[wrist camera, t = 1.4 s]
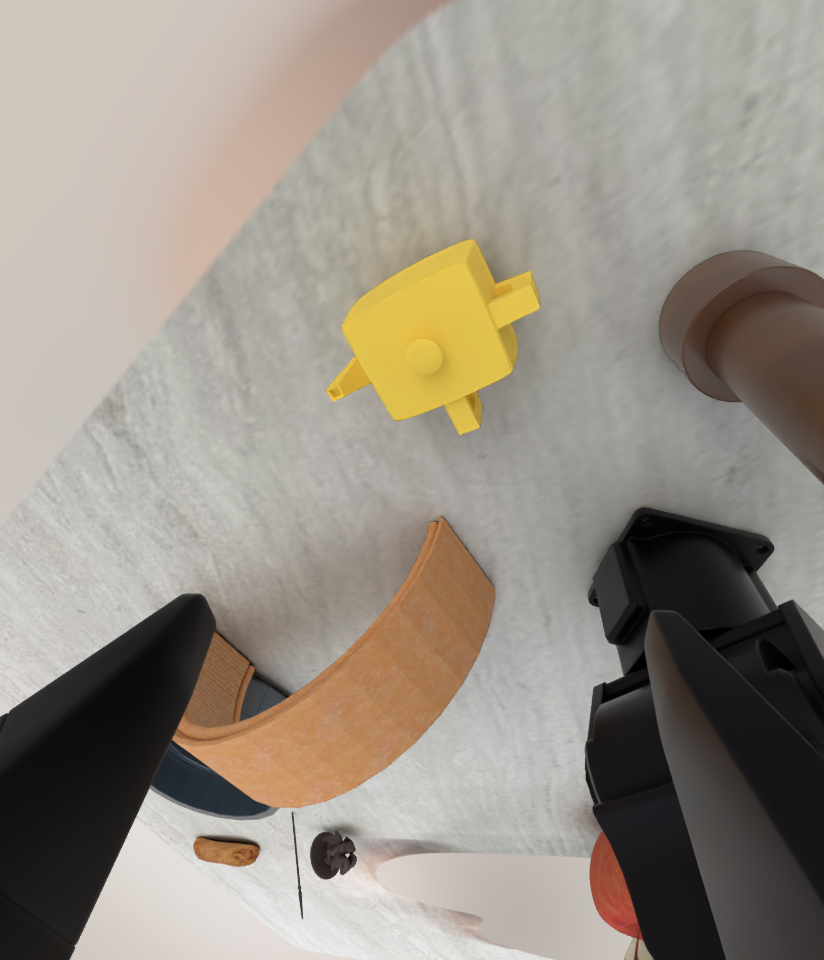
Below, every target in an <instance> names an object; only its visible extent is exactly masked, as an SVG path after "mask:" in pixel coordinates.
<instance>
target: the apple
mask: <svg viewBox="0 0 824 960" xmlns="http://www.w3.org/2000/svg"><path fill="white" fill-rule="evenodd" d="M590 885H591V892H592V896H593V900H594V904H595V906H596V909H597V911H598V913H599V915H600V916H601V917H602V918H603V920H604V921H605V922H607V923H608V924H609V925H610V926H611V927H613V928H614V929H616V930H617V931H619V932H621V933H623V934H626V935H629V936H631V937H634V938H636V939H637V940H636V948H635V955H634V960H639V959H638V944H639V940H642V941H643V938H642V934H641V931H640V928H639V924H638V921H637V918H636V914H635V911H634V907H633V904H632V901H631V897H630V894H629V891H628V888H627V885H626V882H625V879H624V876H623V873H622V870H621V868H620V866H619V863H618V861H617V859H616V856H615V854H614V852H613V849H612V847H611V845H610V842H609V841H608V839H607V837H606V835H605V833H604V832H603V831H602V832H601V834H600V835H599V837H598V839H597V841H596V843H595V846H594V849H593V852H592V857H591V863H590Z"/></svg>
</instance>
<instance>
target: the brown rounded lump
mask: <svg viewBox="0 0 824 960" xmlns="http://www.w3.org/2000/svg"><path fill="white" fill-rule="evenodd" d="M193 847H194V852H195V854H196V856H197V857H198V858H199V859H201V860H203V861H207V862H213V863H222V864H226V865H230V866H237V867H239V866H246V865H250V864H252V863H254V862H255V861H256V858H257V857H258V855H259V850H260V849H259V848H258V847H257V846H255V845H250V844H240V843H225V842H218V841H212V840H208V839H206V838H197V839H196V840H195V842H194V845H193Z"/></svg>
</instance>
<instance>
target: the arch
mask: <svg viewBox="0 0 824 960" xmlns="http://www.w3.org/2000/svg"><path fill="white" fill-rule="evenodd" d="M494 601H495V588H494V586H493V585H492V583H491V582H490V581H489V579H488V578H487V577H486V575H485V574H484V573H483V571H482V570H481V568H480V567H479V566H478V564H477V563H476V562H475V560H474V559H473V557H472V556H471V555H470V553H469V552H468V551H467V549H466V548H465V546H464V545H463V544H462V542H461V541H460V540H459V538H458V537H457V535H456V534H455V533H454V531H453V530H452V529H451V527H450V526H449V524H448V523H447V522H446V520H445V519H444V518H443V517H440V518H439V522H438V523H437V522H431V523H430V524H429V527H428V532H427V536H426V539H425V541H424V544H423V546H422V549H421V552H420V554H419V556H418V558H417V560H416V562H415V564H414V566H413V567H412V569H411V571H410V573H409V575H408V577H407V578H406V580H405V582H404V583H403V584H402V586H401V587H400V589H399V590H398V592H397V593H396V595H395V596H394V597H393V599H392V600H391V602H390V603H389V605H388V606H387V607H386V608H385V610H384V611H383V612H382V613H381V614H380V616H379V617H378V618H377V619H376V620H375V621H374V623H373V624H372V625H371V626H370V627H369V628H368V630H367V631H366V632H365V633H364V634H363V635H362V636H361V637H360V638H359V639H358V640H357V641H356V642H355V643H354V644H353V645H352V646H351V647H350V648H349V649H348V650H347V651H346V652H345V653H344V654H343V655H342V656H341V657H340V658H339V659H338V660H337V661H336V662H334V663H333V664H332V665H331V666H330V667H328V668H327V669H326V670H325V671H323V672H322V673H321V674H320V675H319V676H317V677H316V678H315V679H314V680H313V681H311V682H310V683H309V684H307V685H306V686H304V687H303V688H302V689H300V690H299V691H297V692H296V693H294V694H293V695H291V696H290V697H288V698H287V699H285V700H284V701H282V702H281V703H279V704H277V705H275V706H273V707H271V708H269V709H267V710H266V711H264V712H262V713H260V714H258V715H256V716H254V717H252V718H249V719H246V720H243V721H240V722H239V720H240V714H241V707H242V703H243V700H244V697H245V693H246V690H247V687H248V685H249V682H250V680H251V678H252V675H253V673H254V671H255V667H253V666H251V665H249V663H250V662H249V661H247V660H246V659H245V658H244V657H243V656H242V655H241V654H240V653H238V652H237V651H236V650H235V649H234V648H233V647H232V646H231V645H230V644H228V643H227V642H226V641H225V640H224V639H223V638H222V637H221V636H219V635H218V634H217V633H216V632H215V633H214V636H213V639H212V642H211V644H210V647H209V650H208V653H207V656H206V659H205V661H204V664H203V667H202V670H201V673H200V675H199V678H198V681H197V684H196V687H195V689H194V692H193V694H192V697H191V699H190V702H189V704H188V706H187V709H186V711H185V713H184V715H183V717H182V719H181V722H180V724H179V726H178V728H177V730H176V732H175V734H174V737H173V739H172V740H173V741H174V742H176V743H177V744H178V745H180V746H181V747H182V748H184V749H185V750H187V751H188V752H189V753H191V754H192V755H193V756H195V757H196V758H197V759H199V760H200V761H202V762H203V763H204V764H206V765H207V766H208V767H210V768H211V769H212V770H214V771H215V772H217V773H218V774H219V775H221V776H222V777H223V778H225V779H226V780H227V781H229V782H230V783H231V784H233V785H234V786H236V787H237V788H238V789H240V790H241V791H242V792H244V793H245V794H246V795H248V796H249V797H251V798H252V799H253V800H255V801H257V802H260V803H263V804H266V805H269V806H271V807H280V808H299V807H303V806H308V805H312V804H316V803H321V802H325V801H327V800H329V799H332V798H334V797H336V796H338V795H341V794H343V793H345V792H347V791H350V790H352V789H354V788H356V787H357V786H359V785H361V784H362V783H364V782H365V781H367V780H368V779H370V778H371V777H373V776H374V775H376V774H378V773H379V772H381V771H382V770H384V769H385V768H386V767H388V766H389V765H390V764H391V763H392V762H393V761H395V760H396V759H397V758H398V757H399V756H400V755H402V754H403V753H404V752H405V751H406V750H407V749H409V748H410V747H411V746H412V745H413V744H414V743H415V742H416V741H417V740H418V739H419V738H420V737H421V736H422V735H423V734H424V733H425V731H426V730H427V729H428V728H429V727H430V726H431V725H432V724H433V723H434V722H435V720H436V719H437V718H438V717H439V716H440V715H441V714H442V712H443V711H444V710H445V708H446V707H447V705H448V704H449V703H450V701H451V700H452V698H453V697H454V696H455V694H456V693H457V691H458V690H459V689H460V687H461V686H462V684H463V683H464V681H465V679H466V677H467V675H468V673H469V671H470V670H471V668H472V666H473V664H474V662H475V660H476V658H477V657H478V655H479V653H480V650H481V647H482V644H483V642H484V639H485V636H486V634H487V631H488V628H489V626H490V621H491V616H492V611H493V606H494Z"/></svg>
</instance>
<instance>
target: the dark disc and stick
mask: <svg viewBox="0 0 824 960" xmlns="http://www.w3.org/2000/svg"><path fill="white" fill-rule="evenodd" d="M292 822H293V833H294V843H295V854H296V865H297V875H298V889H299V901H300V909H301V916H302V919H303V909H302V892H301V886H300V878H299V868H298V857H297V847H296V836H295V826H294V816H293V812H292ZM335 834H336V835H332V834H331V833H328V832H323V833H320V834H319V835H317V836H316V838H315V839H314V841H313V843H312V846H311V851H310V859H311V864H312V867H313V870H314V872H315V873H316V874H317V875H318V876H319V877H320V878H322V879H330V878H332V877H334V876H335V875H336V874H337V872H338V870H339V868H340V874H341V875H344V874H345V873H347V871H349V870H350V869H351V868H352V867H354V865H355V864H356V861H357V859H356V858H357V857H356V856H355V855H354V854H353V853H354V852H355V850H356V849H355V846H354V843H353V842H352V840H351V839H350V838H348V837H347V836H346V838H345V839H344V841H343V840H342V836H341V835H340V834H339V833H338V832H337V831H335ZM345 853H346V854H348V853H349V854H350V855H349V857H348V858H347V857H346V855H345Z"/></svg>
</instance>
